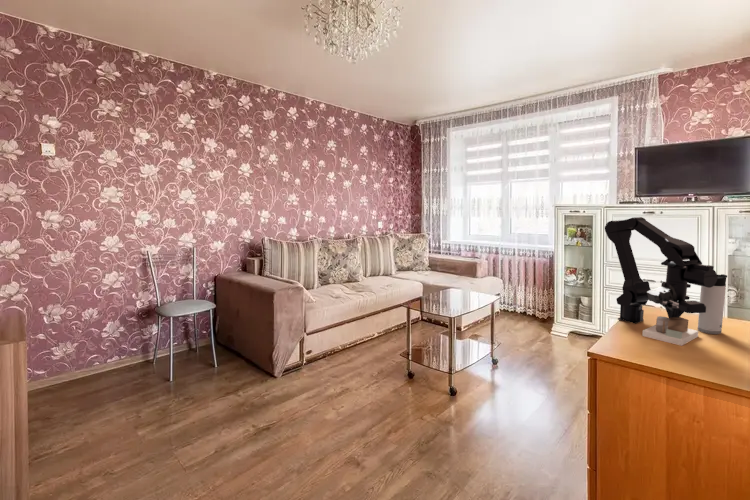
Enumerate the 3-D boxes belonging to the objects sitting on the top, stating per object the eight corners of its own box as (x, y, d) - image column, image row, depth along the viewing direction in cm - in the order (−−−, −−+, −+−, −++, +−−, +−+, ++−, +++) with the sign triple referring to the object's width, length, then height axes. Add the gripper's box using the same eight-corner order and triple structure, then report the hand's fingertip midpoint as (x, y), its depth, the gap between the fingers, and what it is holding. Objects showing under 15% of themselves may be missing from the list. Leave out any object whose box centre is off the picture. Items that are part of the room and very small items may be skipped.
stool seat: (642, 335, 130) (643, 324, 129) (659, 327, 137) (660, 317, 137) (681, 345, 121) (682, 333, 120) (698, 336, 128) (699, 325, 128)
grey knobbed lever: (661, 333, 126) (662, 319, 125) (653, 329, 129) (654, 316, 128) (687, 331, 126) (688, 318, 126) (679, 328, 130) (680, 315, 129)
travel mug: (727, 334, 129) (732, 276, 126) (704, 334, 130) (709, 276, 127) (714, 328, 135) (719, 273, 132) (693, 327, 136) (697, 272, 134)
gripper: (633, 274, 137) (630, 316, 140) (674, 288, 119) (670, 336, 122) (664, 273, 137) (660, 315, 140) (710, 287, 119) (704, 334, 122)
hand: (672, 324), depth 131 cm, fingers closed
